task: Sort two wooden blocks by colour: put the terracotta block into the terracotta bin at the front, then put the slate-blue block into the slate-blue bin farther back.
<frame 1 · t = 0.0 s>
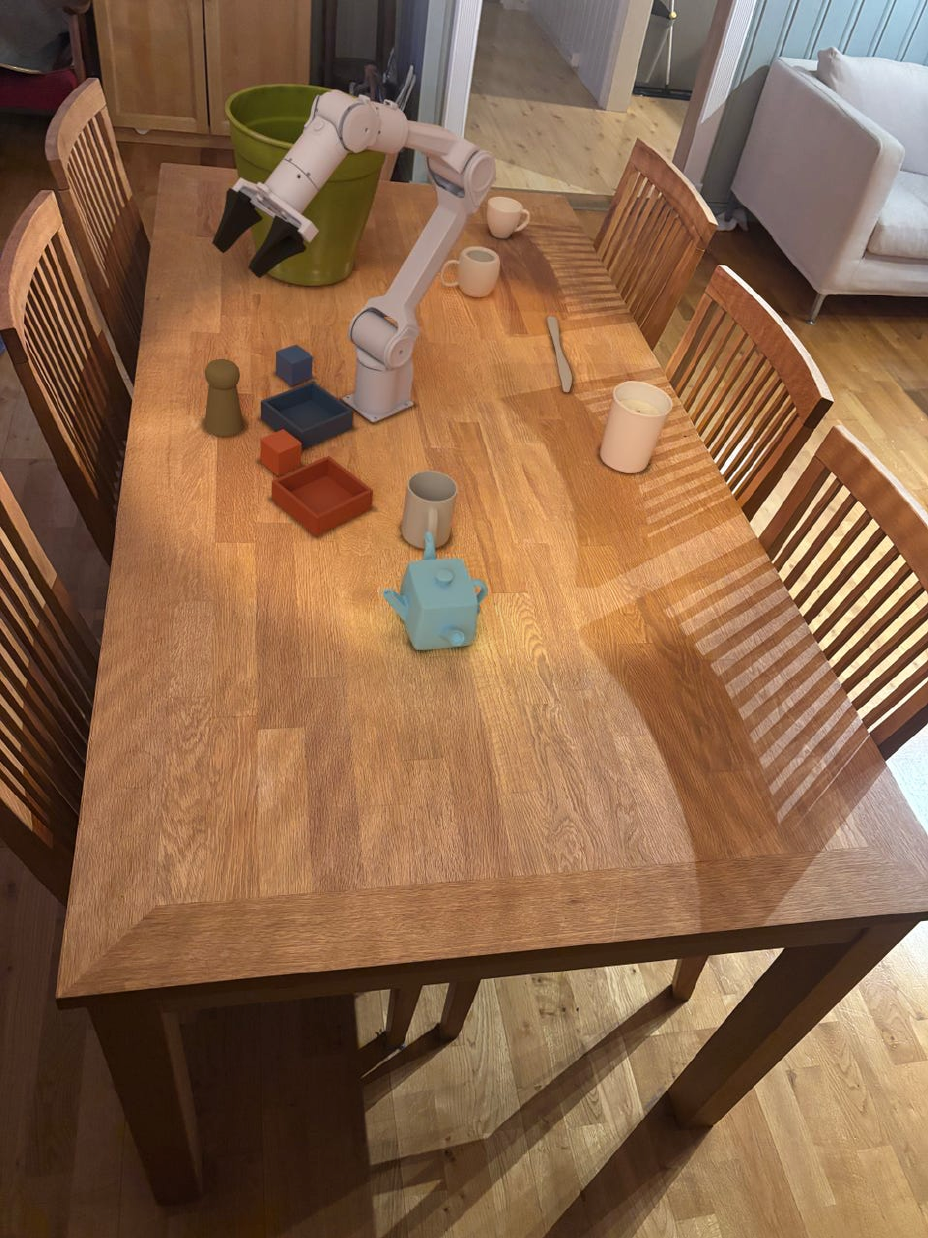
hand: (235, 260, 125), 32 cm above the table, tool tilted 50°, fingers open, 7 cm apart
butter knife: (559, 354, 185), on the table
pepper mill: (224, 425, 154), on the table
candle holder: (623, 459, 164), on the table
teapot: (428, 629, 130), on the table
terracotta bin: (321, 504, 144), on the table
cup 2: (504, 235, 218), on the table
terracotta block: (280, 464, 149), on the table
blue block: (293, 376, 166), on the table
blue bin: (306, 424, 157), on the table
mug: (466, 291, 197), on the table
cup: (425, 541, 142), on the table
plant pot: (305, 266, 194), on the table
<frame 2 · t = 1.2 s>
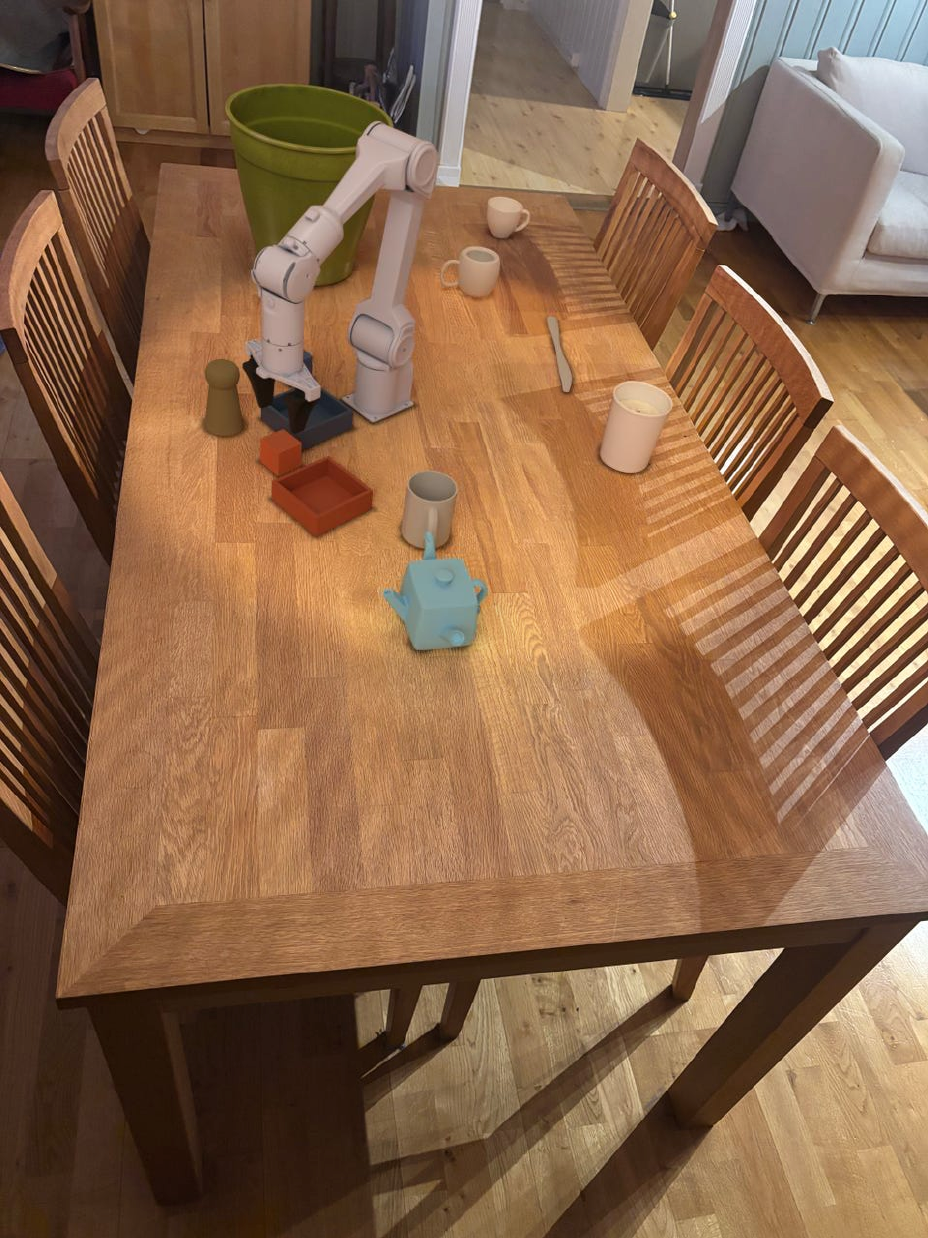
hand: (281, 418, 143), 8 cm above the table, tool pointing down, fingers open, 7 cm apart
nothing on the table moved.
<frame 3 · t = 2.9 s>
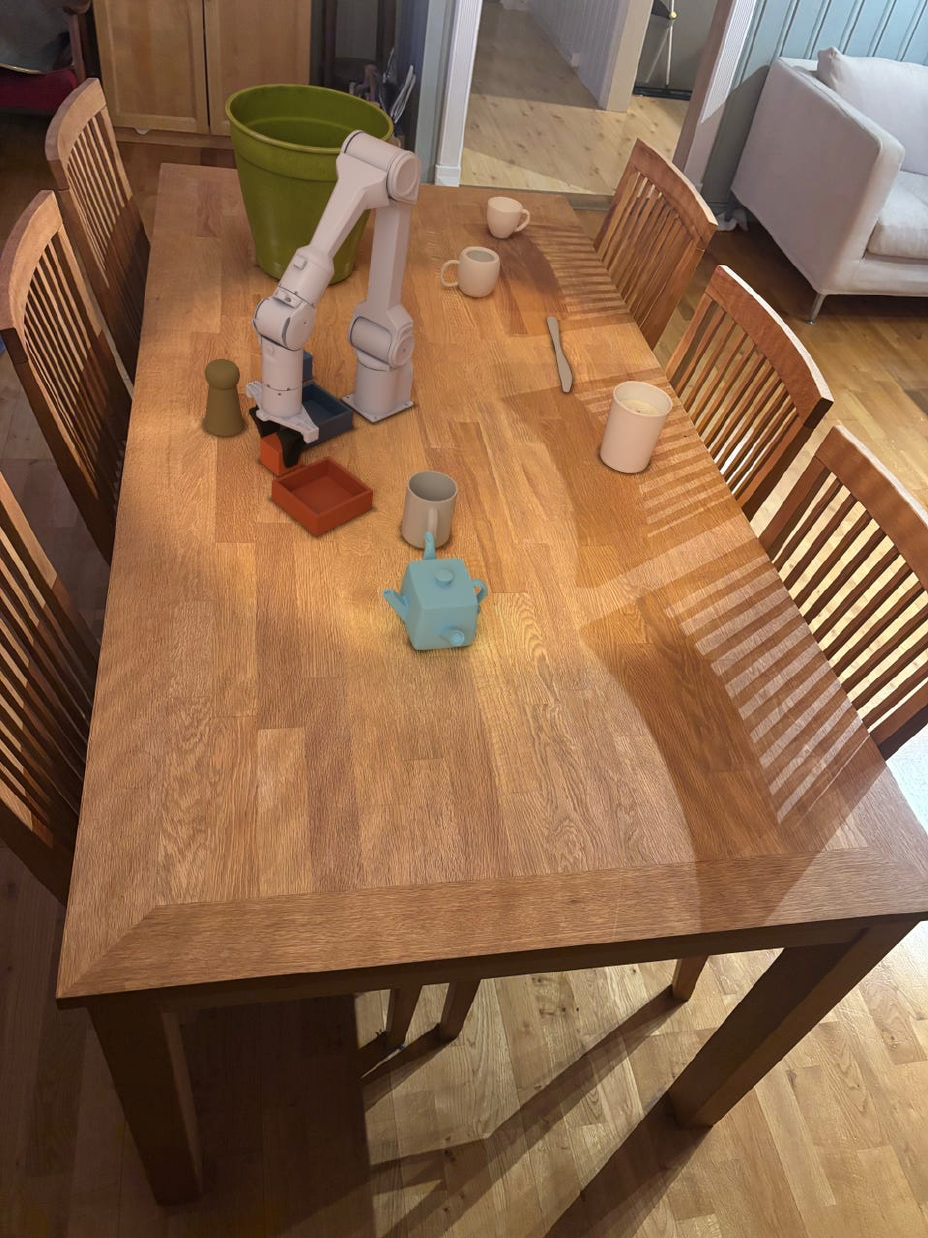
hand: (280, 456, 148), 1 cm above the table, tool pointing down, fingers closed on terracotta block, 4 cm apart
terracotta block: (280, 464, 149), on the table, touching gripper
everything else where it was.
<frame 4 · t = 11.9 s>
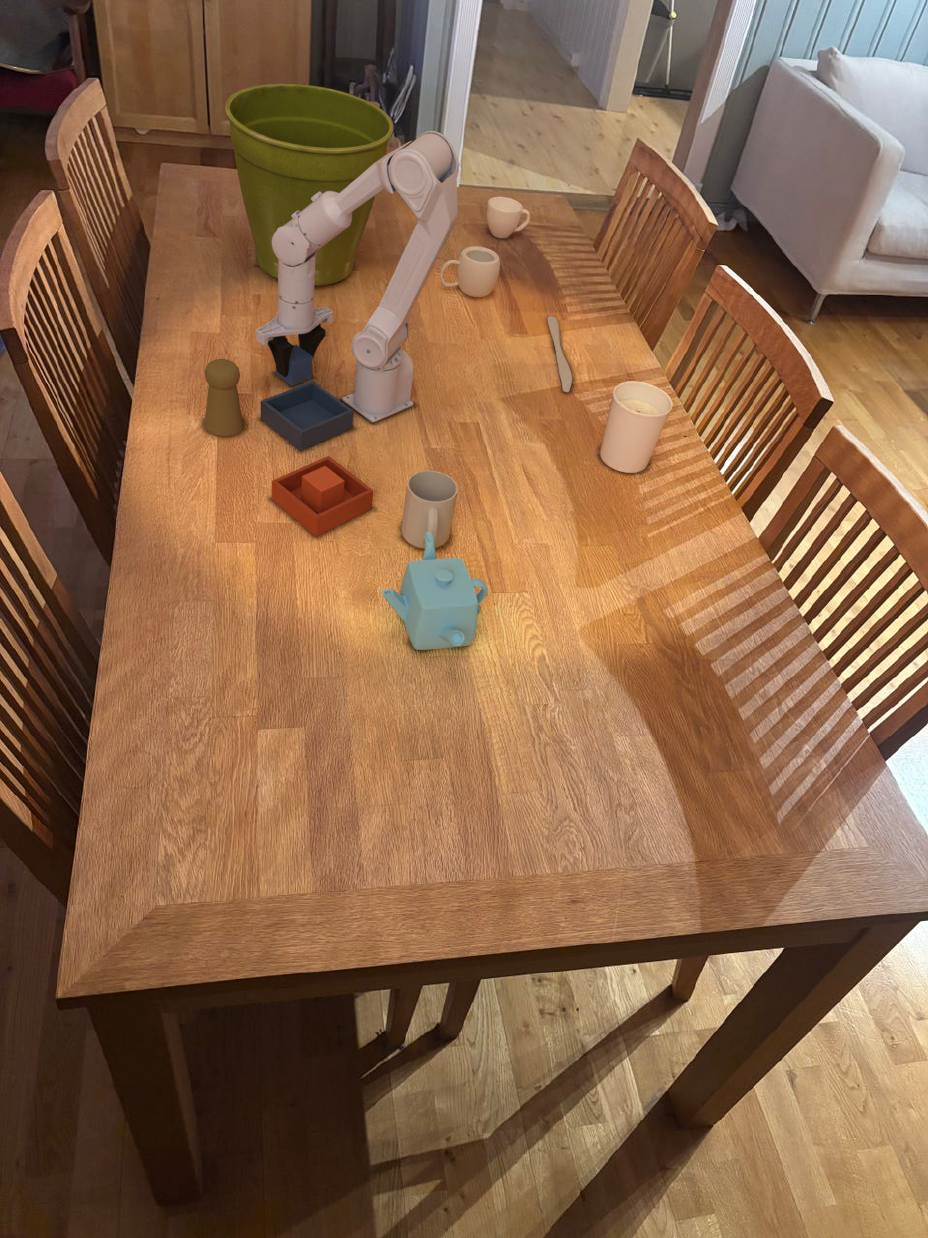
hand: (294, 369, 165), 1 cm above the table, tool pointing down, fingers closed on blue block, 4 cm apart
terracotta block: (322, 501, 144), resting on terracotta bin
blue block: (293, 376, 166), on the table, touching gripper
everything else where it was.
when the fingers open (2 cm above the table, at t = 16.0 s): blue block stays where it is, resting on blue bin.
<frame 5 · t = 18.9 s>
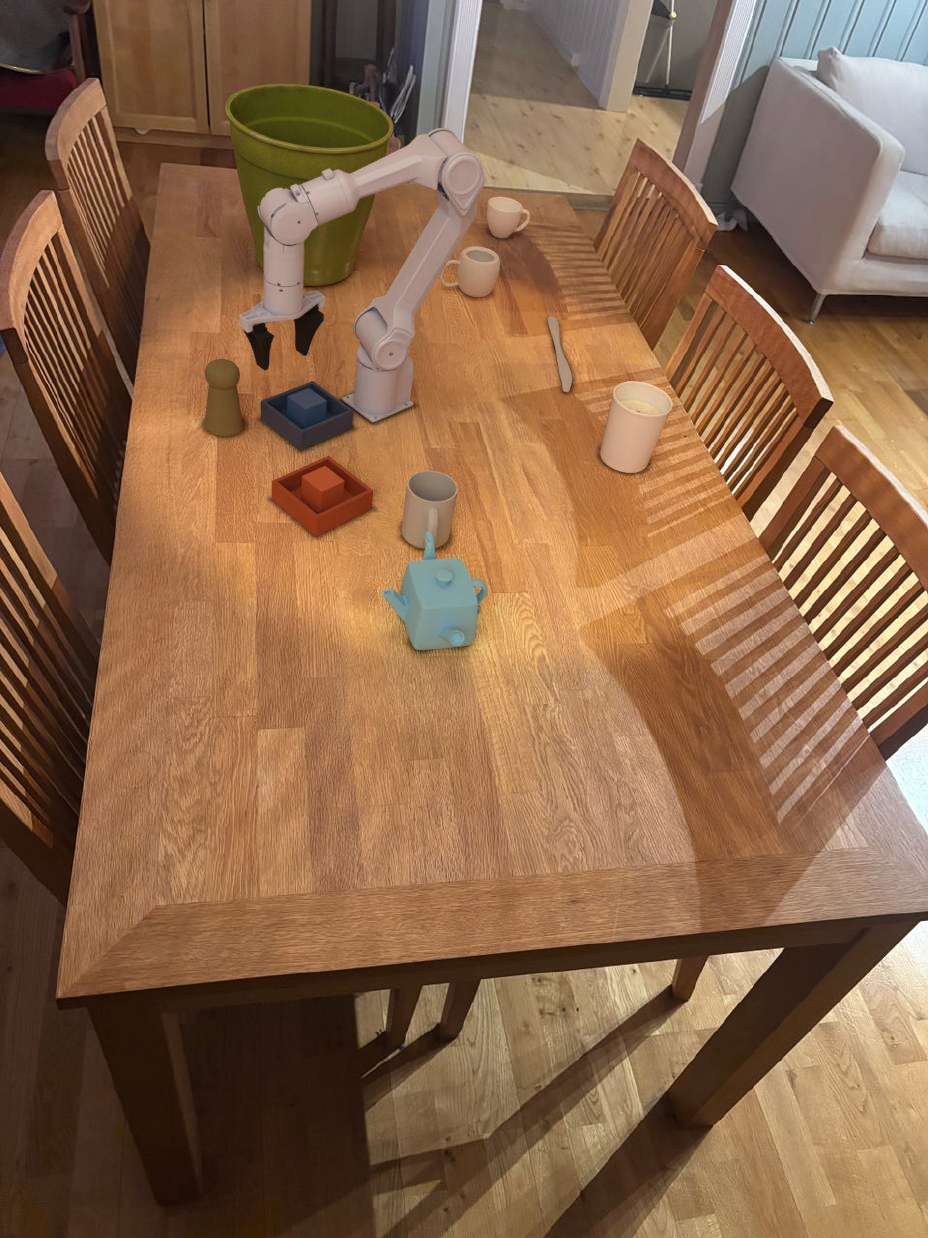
hand: (282, 359, 150), 10 cm above the table, tool pointing down, fingers open, 7 cm apart
blue block: (306, 421, 157), resting on blue bin
everything else where it was.
at the end: terracotta block inside the target area in the terracotta bin (0.1 cm from its centre), point 0.5 cm above the terracotta bin's base; blue block inside the target area in the blue bin (0.1 cm from its centre), point 0.5 cm above the blue bin's base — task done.
